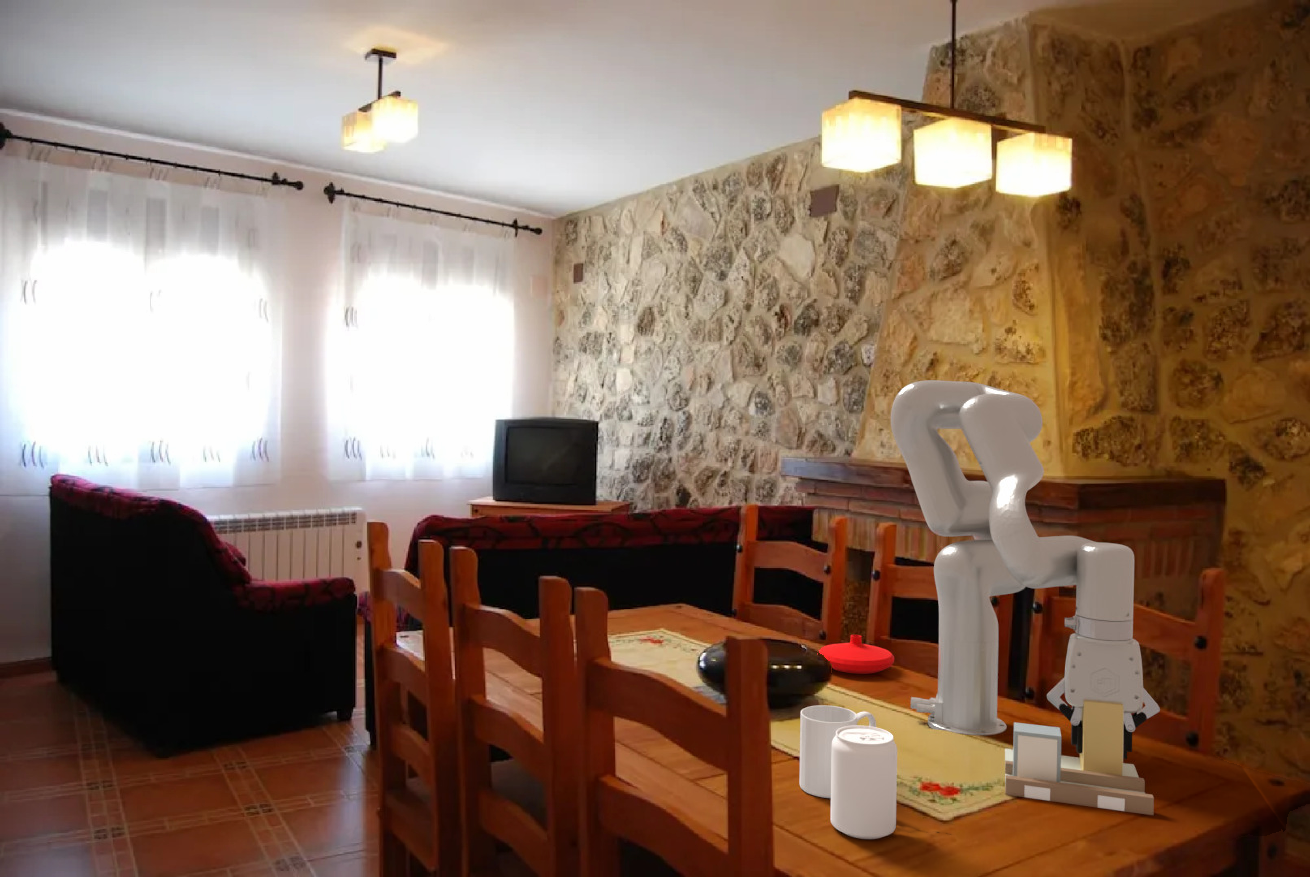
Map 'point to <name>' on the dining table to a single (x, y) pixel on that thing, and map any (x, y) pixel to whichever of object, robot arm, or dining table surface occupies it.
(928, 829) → the dining table surface
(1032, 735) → the box
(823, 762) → the mug
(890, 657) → the red disc with nozzle
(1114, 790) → the shelf
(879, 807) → the beverage can
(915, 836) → the dining table surface
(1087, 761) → the carton
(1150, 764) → the dining table surface
